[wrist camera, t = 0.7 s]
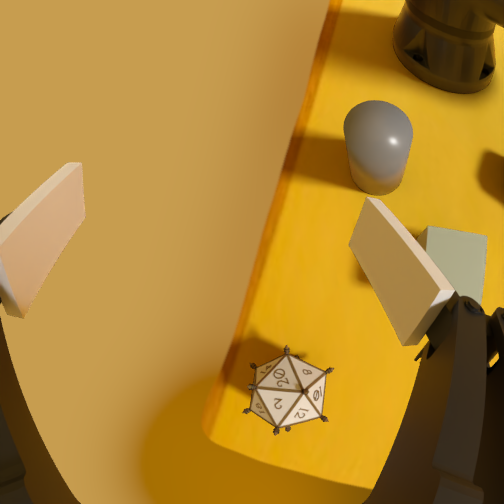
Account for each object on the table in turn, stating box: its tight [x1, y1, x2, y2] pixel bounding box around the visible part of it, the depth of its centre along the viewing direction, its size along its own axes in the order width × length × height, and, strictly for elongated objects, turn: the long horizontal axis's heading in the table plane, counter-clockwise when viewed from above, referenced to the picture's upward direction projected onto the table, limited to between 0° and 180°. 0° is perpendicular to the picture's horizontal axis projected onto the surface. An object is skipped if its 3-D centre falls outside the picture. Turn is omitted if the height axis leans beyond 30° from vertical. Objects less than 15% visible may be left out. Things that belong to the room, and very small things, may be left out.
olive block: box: [417, 226, 487, 305], centre depth 24 cm, size 6×6×6 cm
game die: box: [242, 345, 334, 436], centre depth 27 cm, size 9×8×10 cm
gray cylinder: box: [344, 100, 413, 195], centre depth 27 cm, size 6×6×9 cm
